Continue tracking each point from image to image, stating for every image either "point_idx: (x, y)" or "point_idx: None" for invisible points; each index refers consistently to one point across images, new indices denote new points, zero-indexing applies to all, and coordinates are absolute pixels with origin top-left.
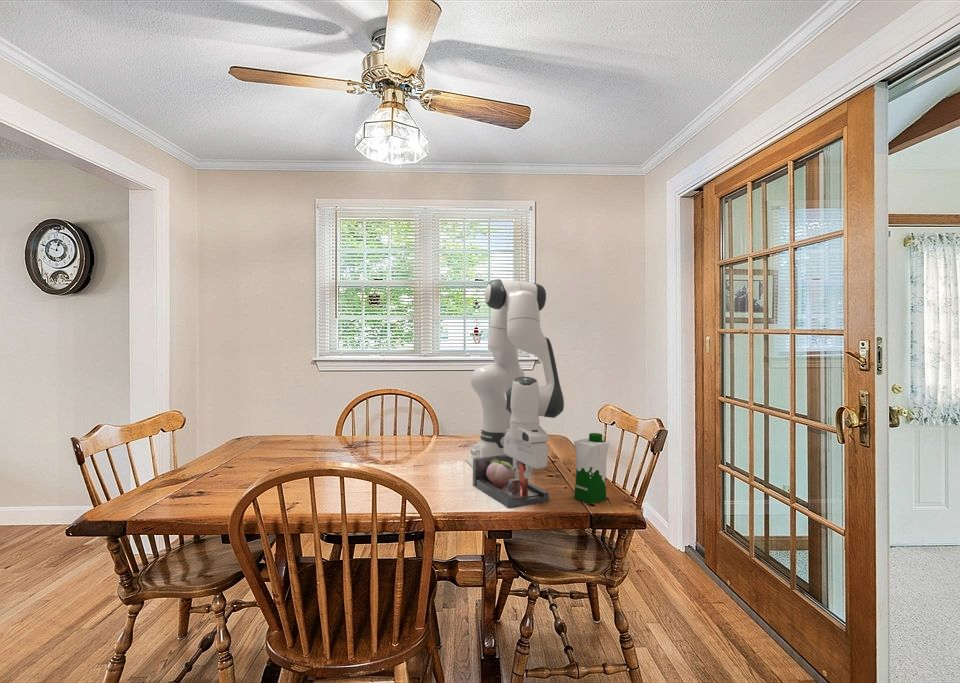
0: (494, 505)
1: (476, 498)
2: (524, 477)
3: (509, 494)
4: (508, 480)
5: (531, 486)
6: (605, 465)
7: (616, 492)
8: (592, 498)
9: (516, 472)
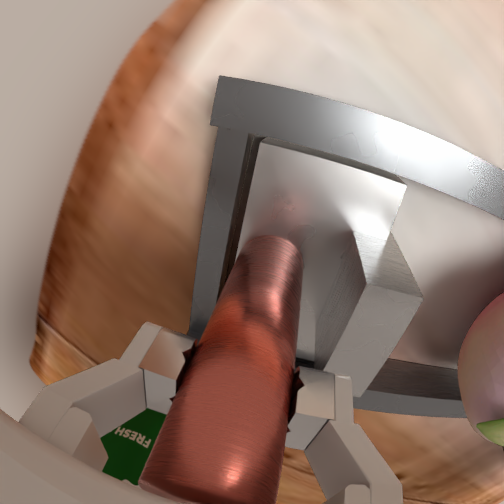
0: (333, 41)
1: (500, 70)
2: (180, 333)
3: (348, 203)
4: (467, 343)
5: None
6: None
7: None
8: None
9: (351, 384)
